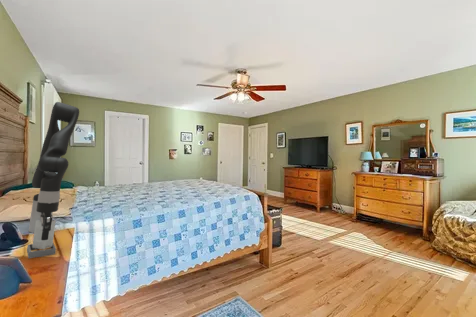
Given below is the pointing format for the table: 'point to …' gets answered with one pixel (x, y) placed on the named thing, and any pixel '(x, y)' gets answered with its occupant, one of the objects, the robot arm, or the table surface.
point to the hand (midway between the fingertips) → (43, 237)
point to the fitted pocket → (40, 251)
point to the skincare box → (38, 234)
